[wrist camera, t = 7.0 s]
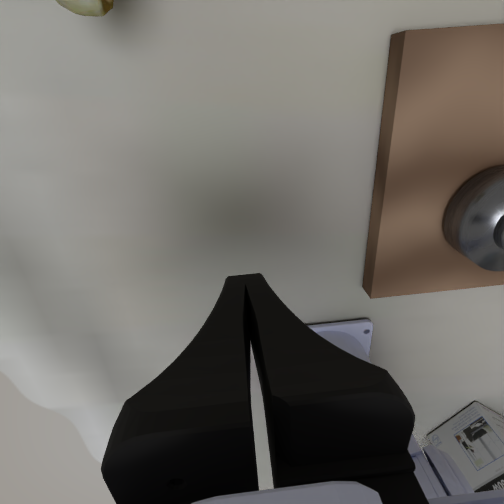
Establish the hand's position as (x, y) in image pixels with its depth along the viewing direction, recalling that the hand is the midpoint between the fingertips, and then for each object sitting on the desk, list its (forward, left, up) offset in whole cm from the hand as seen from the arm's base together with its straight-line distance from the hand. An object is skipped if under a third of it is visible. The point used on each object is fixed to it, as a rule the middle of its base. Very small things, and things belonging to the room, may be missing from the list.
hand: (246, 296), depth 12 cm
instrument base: (+1, -16, -9) cm, 19 cm away
